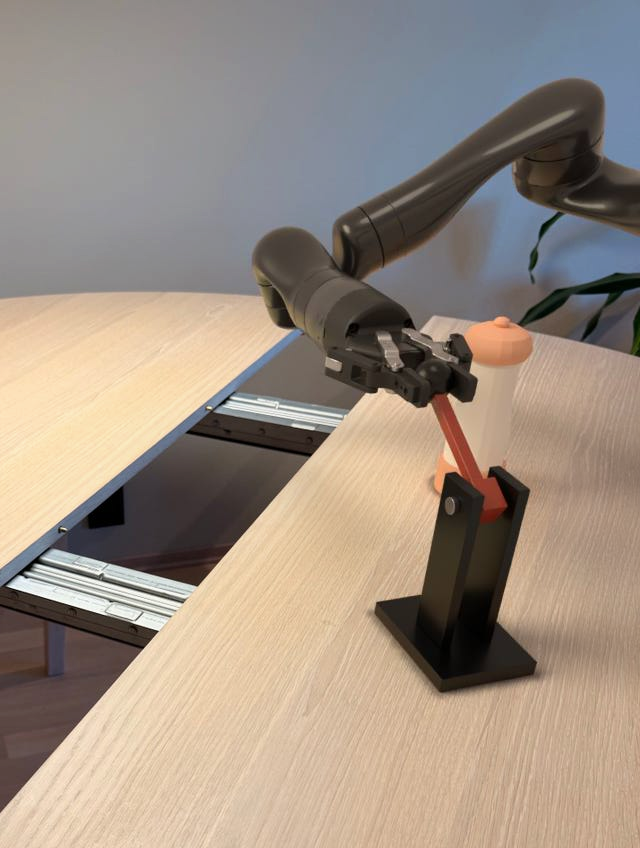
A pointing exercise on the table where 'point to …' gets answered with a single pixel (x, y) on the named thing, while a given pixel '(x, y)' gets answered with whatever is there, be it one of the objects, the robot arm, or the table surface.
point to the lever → (459, 438)
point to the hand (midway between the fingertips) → (447, 394)
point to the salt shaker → (489, 395)
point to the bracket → (464, 591)
